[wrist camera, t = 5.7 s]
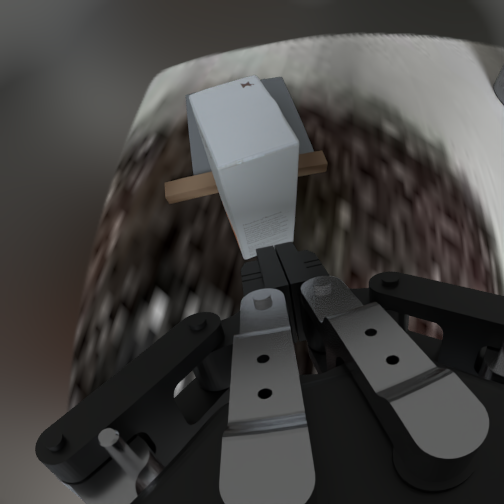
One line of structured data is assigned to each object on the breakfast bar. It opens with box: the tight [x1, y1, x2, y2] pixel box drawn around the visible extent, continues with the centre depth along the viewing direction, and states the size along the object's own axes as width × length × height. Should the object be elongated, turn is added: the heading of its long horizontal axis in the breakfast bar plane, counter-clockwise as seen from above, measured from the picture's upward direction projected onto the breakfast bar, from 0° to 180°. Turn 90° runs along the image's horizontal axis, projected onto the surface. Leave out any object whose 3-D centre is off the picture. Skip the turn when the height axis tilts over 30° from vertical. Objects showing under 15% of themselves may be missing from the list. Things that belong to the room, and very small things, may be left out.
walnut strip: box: [165, 151, 328, 204], centre depth 27 cm, size 14×2×1 cm, turn 101°
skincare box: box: [189, 75, 299, 259], centre depth 21 cm, size 6×4×12 cm
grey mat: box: [186, 77, 314, 175], centre depth 30 cm, size 11×12×1 cm
